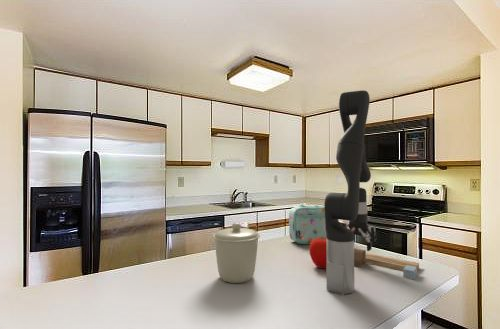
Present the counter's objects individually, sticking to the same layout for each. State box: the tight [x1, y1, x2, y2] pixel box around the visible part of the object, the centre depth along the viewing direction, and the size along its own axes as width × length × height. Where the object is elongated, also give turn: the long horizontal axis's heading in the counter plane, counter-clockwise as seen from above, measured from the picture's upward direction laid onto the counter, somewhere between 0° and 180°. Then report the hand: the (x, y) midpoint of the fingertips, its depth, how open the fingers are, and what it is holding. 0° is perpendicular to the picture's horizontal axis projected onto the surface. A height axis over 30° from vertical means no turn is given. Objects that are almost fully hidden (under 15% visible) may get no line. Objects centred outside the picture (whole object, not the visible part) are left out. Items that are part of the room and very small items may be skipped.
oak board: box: [366, 252, 420, 272], centre depth 120 cm, size 8×26×2 cm, turn 49°
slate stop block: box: [402, 265, 418, 280], centre depth 106 cm, size 6×4×3 cm, turn 139°
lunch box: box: [288, 204, 326, 245], centre depth 156 cm, size 27×10×21 cm, turn 104°
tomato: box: [309, 237, 327, 269], centre depth 116 cm, size 11×11×13 cm
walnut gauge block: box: [354, 247, 367, 268], centre depth 120 cm, size 6×4×6 cm
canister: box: [212, 222, 261, 284], centre depth 105 cm, size 18×18×21 cm
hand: (358, 248), depth 120 cm, fingers open, 8 cm apart
